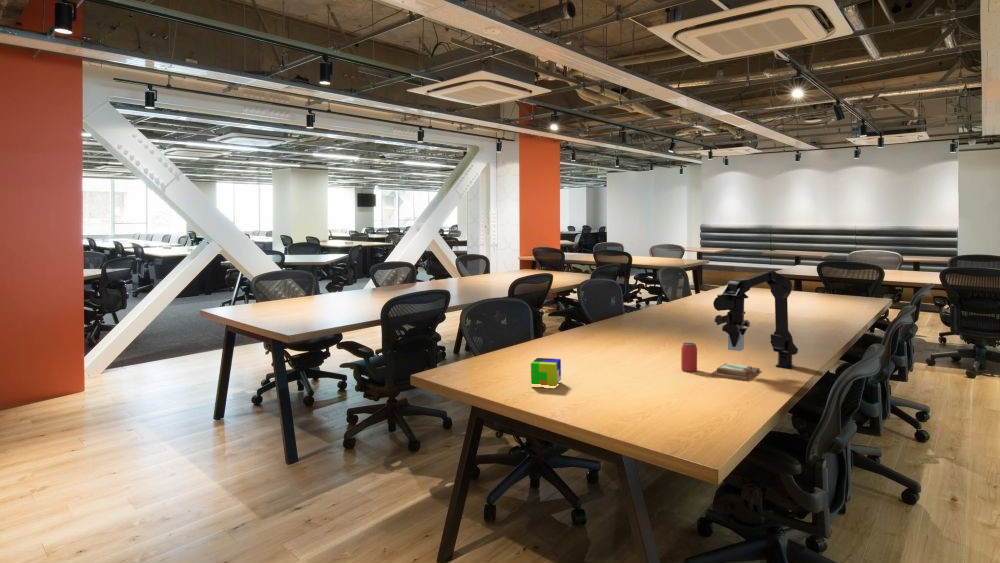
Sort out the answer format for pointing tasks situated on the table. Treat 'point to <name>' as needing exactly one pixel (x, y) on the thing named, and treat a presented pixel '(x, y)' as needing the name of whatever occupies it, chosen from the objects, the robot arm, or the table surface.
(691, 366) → the beer can
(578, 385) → the table surface
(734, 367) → the base
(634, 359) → the table surface
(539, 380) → the puzzle toy
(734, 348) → the block
